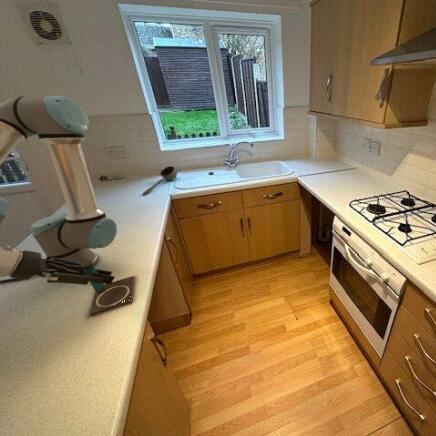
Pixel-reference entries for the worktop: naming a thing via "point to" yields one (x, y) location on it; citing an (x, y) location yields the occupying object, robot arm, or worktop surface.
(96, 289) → the marker
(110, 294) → the induction cooktop
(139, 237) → the worktop surface
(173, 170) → the ladle
